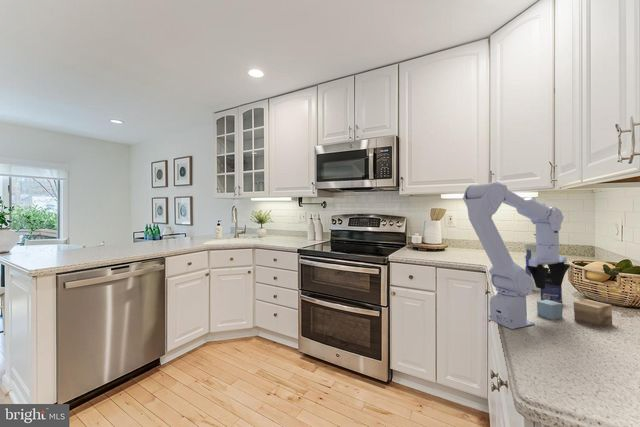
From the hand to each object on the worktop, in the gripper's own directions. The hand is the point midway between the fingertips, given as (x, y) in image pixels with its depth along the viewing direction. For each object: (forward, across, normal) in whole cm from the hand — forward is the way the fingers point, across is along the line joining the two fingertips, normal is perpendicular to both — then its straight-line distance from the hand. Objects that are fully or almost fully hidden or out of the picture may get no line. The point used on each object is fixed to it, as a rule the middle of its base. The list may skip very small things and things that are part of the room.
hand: (548, 286), depth 89 cm
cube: (+10, 0, 0) cm, 10 cm away
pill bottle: (+10, +15, +9) cm, 20 cm away
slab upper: (+7, +6, -8) cm, 12 cm away
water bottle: (+10, +28, +23) cm, 37 cm away
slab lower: (+10, +6, -8) cm, 14 cm away
